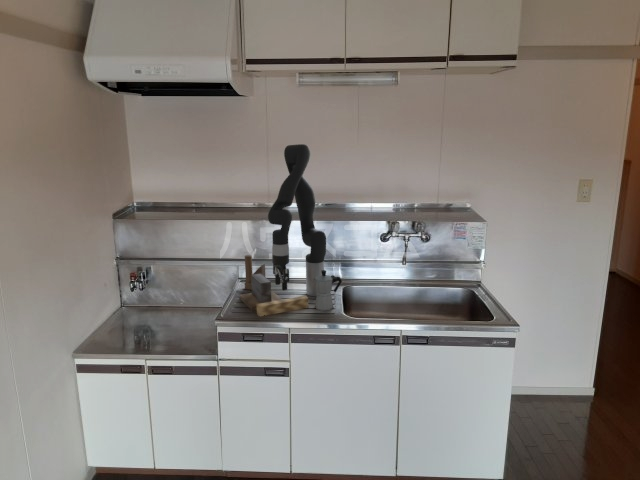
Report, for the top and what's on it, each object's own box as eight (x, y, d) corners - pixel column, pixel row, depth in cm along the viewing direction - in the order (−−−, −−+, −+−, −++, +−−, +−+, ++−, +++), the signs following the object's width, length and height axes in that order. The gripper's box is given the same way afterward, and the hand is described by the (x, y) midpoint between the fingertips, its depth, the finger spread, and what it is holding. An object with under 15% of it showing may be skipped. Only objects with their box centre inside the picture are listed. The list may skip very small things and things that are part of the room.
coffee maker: (312, 311, 223) (311, 274, 218) (309, 304, 231) (308, 268, 227) (344, 309, 226) (344, 272, 221) (339, 302, 234) (339, 266, 230)
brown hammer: (262, 291, 249) (261, 258, 245) (244, 289, 253) (242, 256, 249) (266, 289, 252) (264, 256, 248) (248, 287, 256) (246, 254, 252)
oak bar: (305, 305, 231) (305, 295, 230) (308, 308, 228) (308, 298, 227) (256, 314, 222) (256, 304, 220) (259, 317, 219) (258, 306, 217)
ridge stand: (270, 293, 247) (269, 270, 244) (284, 305, 231) (283, 281, 228) (240, 298, 240) (238, 275, 237) (251, 311, 224) (250, 286, 221)
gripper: (294, 255, 213) (294, 290, 217) (282, 248, 226) (283, 281, 230) (278, 257, 210) (279, 293, 214) (267, 250, 223) (268, 283, 227)
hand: (281, 287), depth 222 cm, fingers open, 8 cm apart
